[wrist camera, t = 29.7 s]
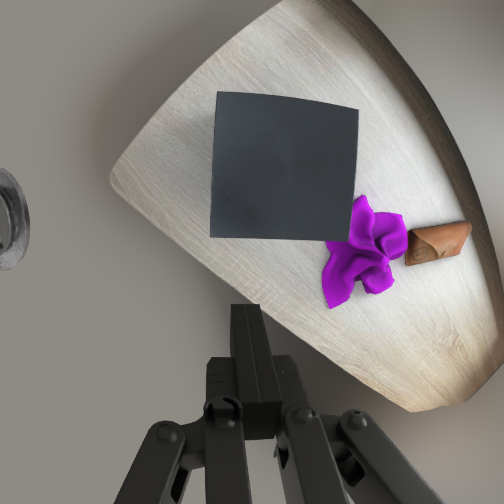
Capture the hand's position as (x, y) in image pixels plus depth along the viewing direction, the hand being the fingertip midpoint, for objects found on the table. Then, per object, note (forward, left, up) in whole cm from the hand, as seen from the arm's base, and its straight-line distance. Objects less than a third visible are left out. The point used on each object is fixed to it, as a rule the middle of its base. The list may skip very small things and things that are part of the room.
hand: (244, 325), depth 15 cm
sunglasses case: (+43, -4, -31) cm, 53 cm away
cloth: (+25, -8, -31) cm, 40 cm away
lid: (+5, +8, -15) cm, 18 cm away
